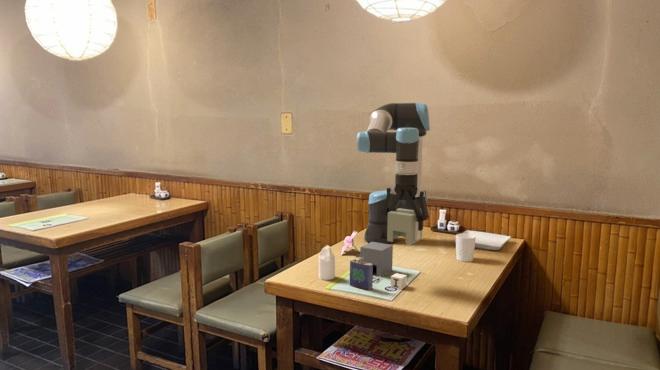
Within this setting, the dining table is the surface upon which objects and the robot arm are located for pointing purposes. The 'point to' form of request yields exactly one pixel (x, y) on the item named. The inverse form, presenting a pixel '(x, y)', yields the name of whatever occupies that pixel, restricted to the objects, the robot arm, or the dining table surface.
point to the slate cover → (378, 256)
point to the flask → (361, 274)
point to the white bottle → (326, 264)
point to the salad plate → (487, 240)
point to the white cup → (465, 247)
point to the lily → (348, 242)
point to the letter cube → (398, 281)
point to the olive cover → (402, 225)
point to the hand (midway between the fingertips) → (404, 237)
